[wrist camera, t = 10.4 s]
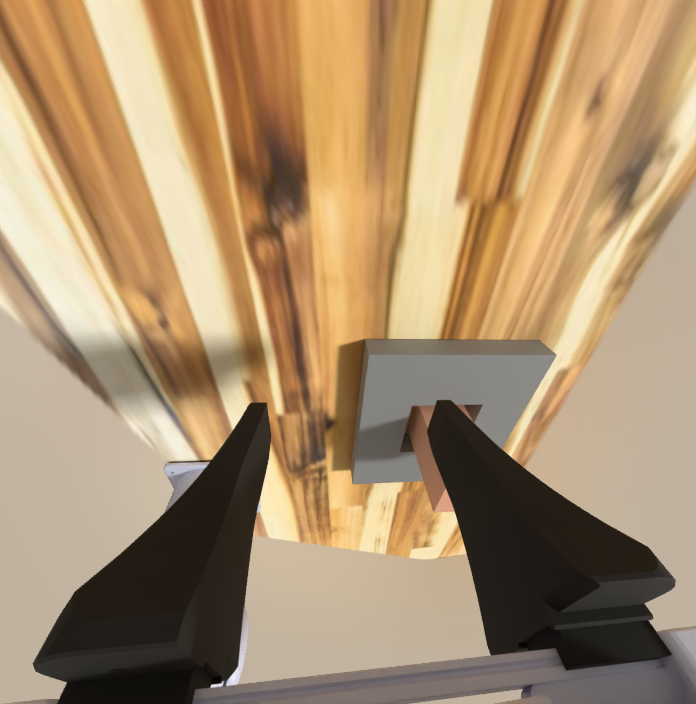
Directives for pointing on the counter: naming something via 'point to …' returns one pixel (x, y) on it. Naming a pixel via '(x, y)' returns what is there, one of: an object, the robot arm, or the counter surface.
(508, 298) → the counter surface
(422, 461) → the terracotta peg
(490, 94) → the counter surface
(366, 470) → the socket block
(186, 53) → the counter surface
